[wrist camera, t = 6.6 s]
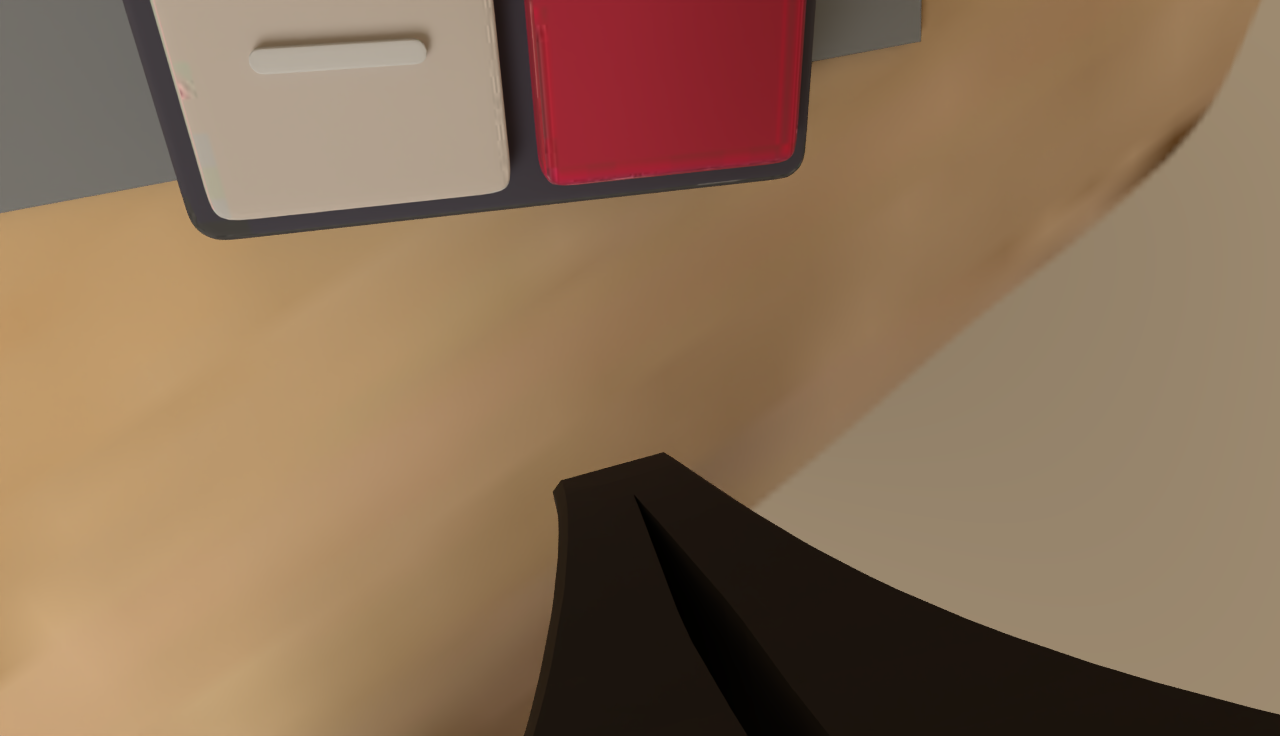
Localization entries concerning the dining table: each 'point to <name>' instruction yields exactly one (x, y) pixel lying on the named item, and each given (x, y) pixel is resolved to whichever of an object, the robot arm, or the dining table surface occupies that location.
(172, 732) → the dining table surface
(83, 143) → the placemat
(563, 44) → the calculator
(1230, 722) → the robot arm
